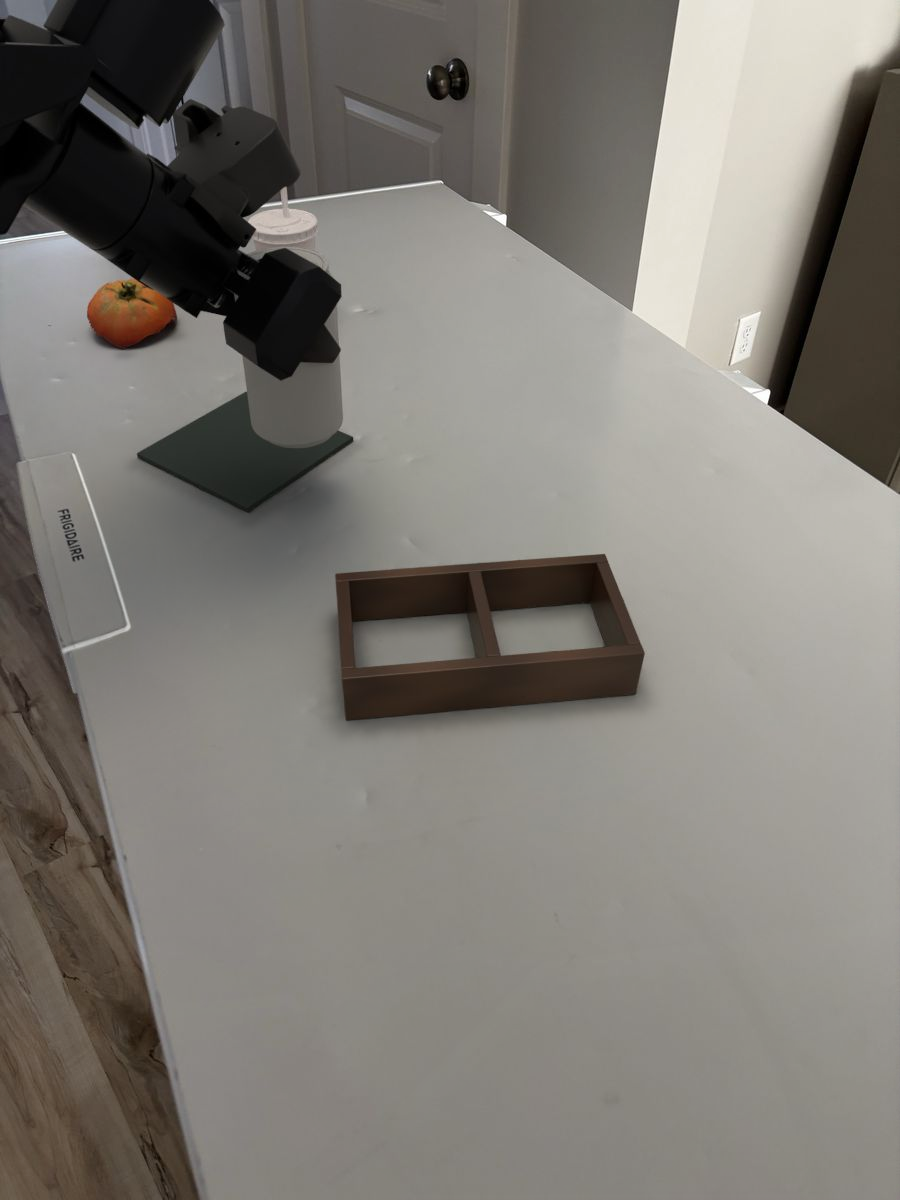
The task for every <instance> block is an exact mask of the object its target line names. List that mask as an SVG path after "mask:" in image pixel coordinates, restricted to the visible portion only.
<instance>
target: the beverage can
mask: <svg viewBox="0 0 900 1200" xmlns="http://www.w3.org/2000/svg"><path fill="white" fill-rule="evenodd" d="M282 248H287V249H289V250H290V251H292V252H294V253H296V254H298V255H299V256H301V257H303V258H305V259H307V260H308V261H310V262H312V263H314V264H316V265H317V266H319V267H321V268H322V269H323V270H324V271H325V272H327V273H328V274H329V275H330V276H331V277H333V278H334V279H335V277H334V275H333V274H332V272H330V269H329V265H330V264H329V260H328V259H327V257H326V256H325V255H324V254H322V253H321V252H318V251H316V250H315V251H313V250H310V249H306V248H300V247H270V248H264V249H260V250H256V249H255V250H254V251H251V252H248V253H246V254H247V255H249V256H250V257H252V258H254V259H255V260H257V261H259V262H260V261H261V259H262V257H263V256H264V254H265V253H267V252H271V251H274V250H278V249H282ZM237 271H238V274H239V275H240V276H242V277H244V278H245V279H247V280H249V279H250V277H249V276H247V275H245V274H243V273H242V272H240V271H239V270H237ZM234 296H235V301H236V300H237V298H238V296H237V295H235V294H234ZM324 325H325V326H326V327H327V329H328V330H329V332H330V333H331V335H332V336H333V338H334V339H335V341H336V342H337V344H338V345H339V346H340V339H339V336H340V335H339V319H338V304H337V305H336V307H335V308H334V310H333V311H332V313H331V314H330V316H329V318H328V319H327V321H326V322H325V324H324ZM241 356H242V365H243V371H244V380H245V386H246V392H247V395H248V403H249V411H250V418H251V425H252V428H253V430H254V431H255V432H256V434H257V435H259V436H260V437H261V438H263V439H265V440H267V441H269V442H271V443H273V444H275V445H278V446H281V447H286V448H306V447H312V446H315V445H318V444H321V443H323V442H325V441H327V440H328V439H329V438H330V437H331V436H332V435H333V434H335V433H336V432H337V431H340V428H341V427H342V425H343V423H344V409H343V393H342V390H343V389H342V373H341V357H340V353H339V355H338V357H337V358H336V360H335V361H334V362H333V363H302V362H300V364H299V366H298V367H297V369H296V370H295V372H294V374H293V375H292V376H291V377H289V378H287V379H284V380H282V381H280V380H279V379H277V378H275V377H274V376H272V375H271V374H269V373H268V372H266V371H264V370H263V369H261V368H260V367H258V366H257V365H255V364H254V363H252V362H251V361H250V360H248V359H247V358H245V357H244V356H243V355H241Z"/></svg>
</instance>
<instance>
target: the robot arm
mask: <svg viewBox="0 0 900 1200" xmlns="http://www.w3.org/2000/svg"><path fill="white" fill-rule="evenodd" d="M224 27H225V20H224V18H223V16H222V15H221V13H220V12H219V10H218V9H217V7H216V6H215V5H214V4H213V2H212V1H211V0H56V2H55V3H54V5H53V7H52V9H51V11H50V12H49V15H48V16H47V18H46V20H45V22H44V24H43V27H41V26H39V25H36V24H35V23H32V22H30V21H28V20H25V19H23V18H19V17H17V16H14V15H12V14H9V15H8V16H7V17H0V236H5V235H6V234H7V233H8V232H9V231H10V229H11V227H12V226H13V223H14V222H15V220H16V218H17V217H18V215H19V213H20V211H21V209H22V208H23V207H25V208H27V209H28V210H30V211H31V212H33V213H34V214H36V215H37V216H39V217H40V218H42V219H44V220H45V221H47V222H48V223H50V224H51V225H53V226H55V227H56V228H58V229H59V230H61V231H62V232H63V233H65V234H67V235H68V236H70V237H71V238H73V239H74V240H76V241H78V242H79V243H80V244H83V246H85V247H87V248H88V249H90V250H92V251H94V252H95V253H97V254H98V255H100V256H101V257H103V258H104V259H106V260H107V261H108V262H110V263H111V264H113V265H114V266H116V267H117V268H118V269H120V270H121V271H123V273H126V274H127V275H128V276H130V277H131V278H132V279H135V280H137V281H138V282H140V283H142V284H143V285H145V286H146V287H148V288H149V289H151V290H153V289H154V290H155V291H157V292H158V293H160V294H161V295H163V296H164V297H166V298H167V299H168V300H170V301H171V302H173V304H174V306H175V305H176V306H177V307H178V308H180V309H182V310H183V311H185V312H186V313H188V314H189V315H191V316H192V317H194V318H196V319H197V318H198V317H199V316H200V314H201V312H203V313H209V314H213V315H218V316H223V317H225V318H224V320H223V321H222V326H223V332H224V340H225V345H227V346H228V347H229V348H231V349H232V350H234V351H235V352H237V353H238V354H240V355H241V356H242V355H243V356H244V357H245V358H247V359H248V360H250V361H251V362H252V363H254V364H255V365H257V366H258V367H260V368H261V369H263V370H264V371H266V372H268V373H269V374H271V375H272V376H274V377H275V378H277V379H279V380H280V381H282V380H284V379H287V378H289V377H291V376H292V375H293V374H294V372H295V370H296V369H297V367H298V366H299V364H300V362H302V363H333V362H334V361H335V360H336V358H337V357H338V355H339V354H340V353H341V351H342V348H341V346H340V344H339V345H338V344H337V342H336V341H335V339H334V338H333V336H332V335H331V333H330V332H329V330H328V329H327V327H326V326H325V325H324V324H325V322H326V321H327V319H328V318H329V316H330V314H331V313H332V311H333V310H334V308H335V307H336V305H337V306H338V304H339V302H340V300H341V298H343V297H342V284H341V282H339V281H337V280H336V278H335V277H334V276H333V277H334V278H333V277H331V276H330V275H329V274H328V273H327V272H325V271H324V270H323V269H322V268H321V267H319V266H317V265H316V264H314V263H312V262H310V261H308V260H307V259H305V258H303V257H301V256H299V255H298V254H296V253H294V252H292V251H290V250H289V249H287V248H282V249H278V250H274V251H271V252H267V253H265V254H264V256H263V257H262V259H261V261H260V262H259V261H257V260H255V259H254V258H252V257H250V256H249V255H247V254H248V253H245V252H244V251H242V250H241V249H240V247H241V248H242V249H243V248H246V247H247V246H248V244H249V243H250V241H251V239H252V238H251V237H252V236H253V234H254V233H255V231H256V228H255V227H253V226H252V225H251V224H250V223H248V221H247V220H246V219H245V218H246V217H249V216H251V215H253V214H255V213H256V212H257V211H259V209H261V208H262V207H263V206H264V205H265V204H267V203H268V202H269V201H271V200H272V199H273V198H274V197H275V196H276V195H277V194H278V193H280V192H281V190H282V189H283V188H284V187H286V188H290V187H292V186H293V185H294V184H295V183H296V182H297V181H298V180H299V178H300V177H301V172H302V171H301V169H300V167H299V165H298V162H297V161H296V159H295V156H294V155H293V153H292V151H291V149H290V146H289V145H288V142H287V140H286V139H285V136H284V134H283V132H282V130H281V128H280V126H279V124H278V122H277V120H276V119H274V118H272V117H271V116H268V115H265V114H263V113H260V112H258V111H256V110H254V109H251V108H249V107H246V106H236V107H232V106H229V105H227V104H226V105H223V107H222V108H221V112H222V115H220V114H219V113H217V112H216V111H215V110H213V109H212V108H210V107H209V106H207V105H205V104H204V103H201V102H199V101H197V100H194V99H192V98H190V99H187V100H186V101H185V102H184V103H182V104H181V102H182V100H183V98H184V97H185V95H186V93H187V91H188V90H189V87H190V86H191V84H192V83H193V81H194V80H195V77H196V76H197V74H198V72H199V71H200V69H201V67H202V65H203V64H204V62H205V60H206V59H207V56H208V55H209V53H210V51H211V50H212V48H213V46H214V44H215V43H216V41H217V40H218V38H219V36H220V34H221V32H222V31H223V29H224ZM85 95H87V96H88V98H90V99H92V100H93V101H94V102H95V103H97V104H98V105H99V106H100V107H102V108H103V109H105V110H106V111H108V112H109V113H110V114H111V115H113V116H115V117H116V118H117V119H119V120H121V121H122V122H123V123H125V124H126V125H128V126H130V127H132V128H134V129H136V130H139V129H140V128H141V126H142V125H143V123H144V121H145V119H144V118H146V119H147V120H149V121H150V122H152V123H153V124H154V125H156V126H157V127H161V126H162V125H163V124H165V125H167V124H168V123H169V122H170V121H171V119H172V121H173V128H174V137H175V143H176V145H175V146H174V147H173V149H174V150H175V152H176V154H177V155H176V157H174V159H173V160H171V161H170V163H169V164H168V165H166V164H165V163H164V162H162V161H161V160H160V159H159V158H157V157H155V156H153V154H150V153H147V154H146V153H145V152H144V151H142V150H141V149H140V148H138V147H137V145H134V144H133V143H132V142H131V141H129V140H128V139H127V138H126V137H124V136H123V135H122V134H121V133H119V132H118V131H117V130H115V129H114V128H113V127H111V126H110V125H109V124H108V123H107V122H105V121H104V120H103V119H102V118H100V117H99V116H98V115H97V114H96V113H94V112H93V111H92V110H90V109H89V108H88V107H86V106H85V105H84V104H83V103H81V102H82V100H83V98H84V96H85ZM180 104H181V105H180ZM179 105H180V106H179ZM237 270H239V271H240V272H242V273H243V274H245V275H247V276H249V277H250V279H249V280H247V279H245V278H244V277H242V276H240V275H239V274H238V271H237ZM234 294H235V295H237V296H238V298H237V300H236V301H235V296H234Z"/></svg>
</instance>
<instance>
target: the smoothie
mask: <svg viewBox="0 0 900 1200" xmlns="http://www.w3.org/2000/svg"><path fill="white" fill-rule="evenodd" d="M287 188H288V187H284V188H283V189H282V190H280V198H281V208H274V209H268V210H264V211H260V212H258V213H256V214H254V215H252V216H251V217H249V219H248V221H247V222H248V223H250V224H251V225H252V226H253V227H255V228H256V231H255V233H254V234H253V236H252V237H251V239H252V240H253V244H254V247H255V248H254V249H255V251H256V250H260V249H264V248H270V247H300V248H306V249H310V250H313V251H316V236H317V235H318V234H319V231H320V228H319V225H318V223H319V222H318V218H317V216H315V215H314V214H313V213H311V212H309V211H306V210H302V209H295V208H289V199H288V189H287Z"/></svg>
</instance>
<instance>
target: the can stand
mask: <svg viewBox="0 0 900 1200" xmlns="http://www.w3.org/2000/svg"><path fill="white" fill-rule="evenodd" d="M334 576H335V577H334V578H335V591H336V604H337V605H336V607H337V608H336V609H337V623H338V640H339V657H340V670H341V671H340V672H341V673H340V674H341V685H342V696H343V706H344V707H343V708H344V718H345V720H346V721H351V720H352V721H353V720H364V719H376V718H386V717H387V718H388V717H398V716H408V715H409V716H410V715H420V714H421V715H422V714H430V713H431V714H432V713H441V712H451V711H452V712H453V711H463V710H476V709H486V708H497V707H507V706H508V707H509V706H519V705H521V706H522V705H530V704H540V703H541V704H542V703H552V702H553V703H554V702H563V701H564V702H565V701H573V700H585V699H596V698H607V697H618V696H620V697H621V696H631V695H636V694H637V691H638V687H639V682H640V677H641V673H642V669H643V664H644V659H645V655H646V653H645V650H644V647H643V645H642V642H641V640H640V638H639V635H638V633H637V630H636V628H635V626H634V623H633V620H632V617H631V615H630V612H629V610H628V607H627V605H626V603H625V600H624V598H623V596H622V592H621V591H620V588H619V585H618V583H617V580H616V578H615V575H614V573H613V570H612V568H611V566H610V563H609V560H608V557H607V555H606V554H605V553H598V554H597V553H596V554H585V555H569V556H556V557H555V556H554V557H544V558H543V557H542V558H528V559H515V560H502V561H489V562H488V561H487V562H475V563H474V562H473V563H472V562H471V563H460V564H447V565H446V564H445V565H433V566H419V567H418V566H417V567H406V568H405V567H404V568H392V569H391V568H390V569H378V570H366V571H364V570H363V571H350V572H339V573H337V572H336V573H335V575H334ZM578 604H590V607H591V609H592V612H593V615H594V617H595V621H596V623H597V625H598V629H599V631H600V634H601V637H602V639H603V643H604V645H605V646H601V647H588V648H578V649H577V648H575V649H567V650H566V649H565V650H553V651H542V652H529V653H517V654H516V653H515V654H505V655H504V654H503V655H501V651H500V646H499V643H498V639H497V638H498V637H497V635H496V630H495V625H494V622H493V621H494V620H493V617H492V614H491V613H492V612H491V611H501V610H512V609H513V610H514V609H526V608H538V607H551V606H552V607H553V606H565V605H578ZM464 613H466V616H467V621H468V625H469V630H470V635H471V640H472V645H473V651H474V655H475V657H470V658H469V657H468V658H459V659H447V660H433V661H422V662H421V661H420V662H411V663H410V662H409V663H399V664H387V665H376V666H373V665H372V666H362V667H356V655H355V642H354V632H353V622H360V621H374V620H375V621H376V620H386V619H399V618H410V617H411V618H412V617H424V616H438V615H450V614H464Z"/></svg>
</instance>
